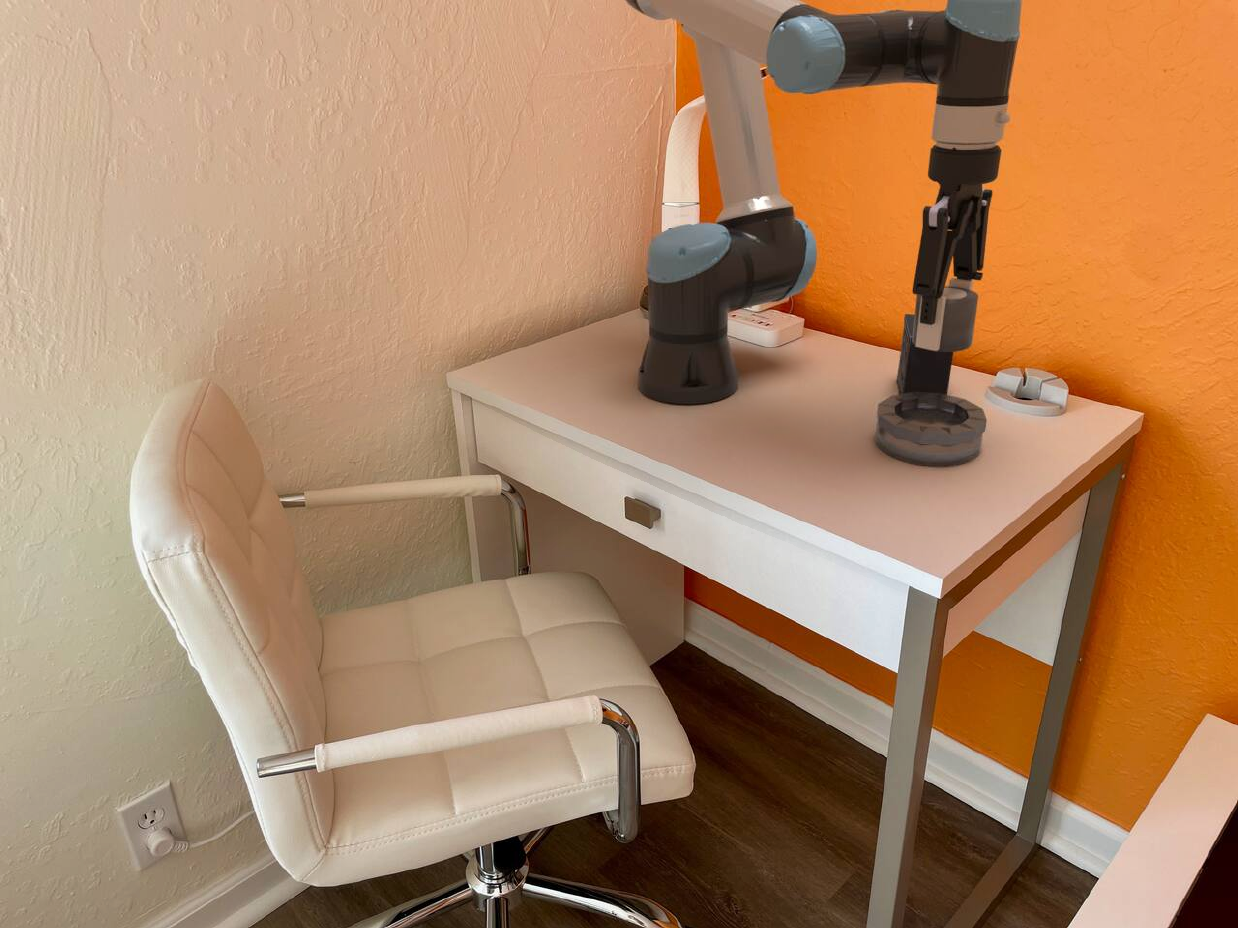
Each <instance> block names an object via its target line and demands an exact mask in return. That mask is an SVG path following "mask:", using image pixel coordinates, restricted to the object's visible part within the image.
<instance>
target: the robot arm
mask: <svg viewBox="0 0 1238 928" xmlns="http://www.w3.org/2000/svg"><path fill="white" fill-rule="evenodd" d="M624 1H625V2H626V3H627V4H628V5H629V6H630V7H632V9H634V10H636V11H637V12H639V13H640V14H643V15H644V16H646V17H649V18H651V19H653V20H657V21H665V20H669V19H671V20H674V21H676V22H678V23H679V24H680V25H681V30H682V33H683V34H685V35H686V36H688V37H689V38H690V39H692V40H693V41H694V45H695V51H696V57H697V62H698V63H697V64H698V68H699V73H700V79H701V86H702V90H703V96H704V102H705V107H706V114H707V119H708V126H709V131H710V135H711V142H712V148H713V154H714V161H715V165H716V172H717V178H718V182H719V183H718V184H719V189H720V194H721V200H722V206H723V207H722V209H721V210H722V211H721V212H720V214H719V215H718V217H717V218H716V220H715V223H713V222H697V223H695V224H691V223H687V224H686V223H685V224H682V225H678V226H674V227H671V228H668V229H666V230H663V231H661V232H659V234H657V235H655V236H654V237H653V239H652V240H651V242H650V243H649V246H648V248H647V249H648V250H647V264H646V269H645V270H646V275H647V296H648V297H647V301H648V340H647V343H646V347H645V350H644V353H643V356H642V359H641V363H640V366H639V370H638V374H637V375H638V376H637V377H638V379H637V380H638V381H637V382H638V389H639V391H640V392H641V393H642V394H644V396H646V397H648V398H650V399H653V400H656V401H659V402H663V403H669V404H673V405H674V404H677V405H700V404H706V403H712V402H717V401H720V400H723V399H725V398H728V397H729V396H732V395H733V394H734V393H735V392H736V391H737V390H738V387H739V370H738V367H737V364H736V363H735V358H734V354H733V351H732V347H731V345H730V341H729V338H728V330H729V329H728V324H729V323H728V320H729V313H730V312H734V311H738V310H742V309H743V310H744V309H746V308H751V307H755V306H760V305H763V304H767V303H775V302H781V301H783V300H785V299H786V298H790V297H793V296H795V295H797V294H799V293H800V292H801V291H803V290H804V289H805V288H807V285H808V284H809V282H810V279H812V277H813V276H814V273H815V269H816V266H817V259H818V247H817V242H816V238H815V235H814V233H813V231H812V229H810V228H808V226H809V225H808V224H807V223H806V222H805V221H804V220H801V219H799V218H797V217H796V216H795V210H794V205H793V203H791V202H790V201H788V200H787V199H786V198H784V197H783V196H782V194H781V189H780V184H779V183H780V182H779V178H778V177H779V176H778V171H777V164H776V158H775V151H774V146H773V139H772V133H771V126H770V122H769V114H768V109H767V101H766V96H765V89H764V83H763V77H762V71H761V70H762V69H761V65H760V64H762V65H763V66H766V68H767V69H766V70H767V72H768V76H769V77H771V78H772V80H773V82H774V85H775V86H776V88H778V89H779V90H780V91H783V92H784V93H788V94H800V93H801V94H805V95H815V94H818V93H821V92H831V91H837V90H846V89H853V88H854V89H855V88H863V87H873V86H882V85H883V86H884V85H892V84H893V85H894V84H902V83H903V84H908V83H909V84H930V85H937V86H936V87H937V88H936V89H937V90H936V100H935V106H934V113H933V114H934V115H933V123H932V130H931V131H932V132H931V139H932V140H933V141H934V142H935V143H936V144H934V145H932V147H931V148H930V150H929V151H930V153H929V160H928V161H929V162H928V168H927V169H928V171H927V177H928V178H929V180H930V181H932V182H935V183H938V185H939V189H938V194H937V196H936V198H935V199H936V201H935V203H934V205H933V206H930V205H925V206H924V207H923V210H922V229H921V233H920V234H921V235H920V241H919V242H920V243H919V245H918V246H919V247H918V254H917V259H916V266H915V273H914V278H913V283H912V294H913V295H916V296H917V295H921V302H920V310H919V319H918V327H917V336H916V345H915V347H920V348H924V349H929V350H934V351H938V350H939V348H940V340H941V332H942V325H943V317H944V309H945V301H946V296H942V295H943V291H944V287H945V286H946V283H947V279H948V275H949V273H950V269H951V264H953V265H952V266H953V270H952V271H953V277H952V278H950V279H949V280H948V286H951V287H960V288H965V289H969V290H972V291H973V286H974V280H975V281H980V282H981V281H982V279H983V275H984V273H983V272H981V271H982V270H983V269H984V264H985V255H986V254H985V253H986V243H987V234H988V232H987V231H988V225H989V223H988V221H989V214H990V213H989V210H990V208H991V207H990V206H991V202H992V198H993V189H986V188H983V185H986V184H989V183H993V182H994V181H996V180H997V178H998V176H999V169H1000V162H1001V157H1002V148H1001V146H1000V145H998V143H1000V142H1001V141H1002V140H1003V138H1004V132H1005V125H1006V124H1008V123H1009V122H1010V121H1011V115H1010V114H1009V113H1007V110H1008V105H1009V103H1008V102H1009V97H1010V94H1009V92H1010V86H1011V82H1012V74H1013V70H1014V65H1015V59H1016V53H1017V49H1018V43H1019V38H1020V37H1021V31H1020V24H1021V13H1022V12H1021V11H1022V4H1023V3H1022V1H1023V0H947V3H946V6H945V7H946V8H945V9H944V10H940V11H939V10H937V11H936V10H904V9H894V10H891V9H890V10H889V9H888V10H883V11H878V12H872V13H851V14H834V13H830V12H827V11H825V10H823V9H820V8H817V7H815V6H811V5H810V4H809V3H805V1H800V0H624ZM952 262H953V263H952ZM954 277H955V278H954Z"/></svg>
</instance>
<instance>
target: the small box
mask: <svg viewBox="0 0 1238 928" xmlns="http://www.w3.org/2000/svg"><path fill="white" fill-rule="evenodd" d="M903 317H904V320H903V330H902V331H903V332H902V340H901V345H900V347H901V348H900V355H899V361H898V368H897V369H898V370H897V375H896V385H897V391H898V395H899V394H904V393H910V392H926V393H942V394H946V395H948V391H949V390H948V389H949V383H950V378H951V371H952V365H953V356H954V352H937V351H930V350H926V349H922V348H920V347H915V345H914V344H913V342H912V337H913V327H914V317H915V314H911V313H910V314H909V313H905V314H904V316H903Z"/></svg>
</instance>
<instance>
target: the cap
mask: <svg viewBox="0 0 1238 928" xmlns="http://www.w3.org/2000/svg"><path fill="white" fill-rule="evenodd" d="M942 296H946V301H945V309H944V317H943V325H942V332H941V340H940V348H939V350H938V351H937V352H953V353H955V352H961V351H964V350H965V351H966V350H967V349H969V348H971V347H972V345H973V338H974V333H975V332H974V330H975V323H976V315H977V308H978V301H979V294H978V293H977V292H976V291H973V289H972V290H969V289H965V288H960V287H951V286H949V285H948V286H947V285H945V287H944V291H943V295H942ZM915 297H916V299H915V309H914V315H915V317H914V327H913V337H912V342H913V344H914V345H916V336H917V327H918V319H919V310H920V302H921V295H916V296H915ZM922 349H924V348H922ZM926 350H929V349H926ZM930 351H934V350H930Z"/></svg>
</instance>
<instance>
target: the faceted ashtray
mask: <svg viewBox="0 0 1238 928" xmlns="http://www.w3.org/2000/svg"><path fill="white" fill-rule="evenodd" d="M876 413H877V414H876V417H877V421H876V422H877V423H876V432H875V444H876V446H877V448H878V449H879V450H880V451H881V452H883V453H884V454H885V455H887V456H889V457H891V458H892V459H893V458H894V459H896V460H898V461H901V462H904V463H909V464H913V465H917V466H922V467H937V468H939V467H941V468H942V467H953V466H954V467H955V466H958V465H963V464H966V463H969V462H971V461H973V460H974V459H976V458H977V457H978V456H979V454H980V452H981V445H982V440H983V434H984V433H985V431H986V428H987V418H986V414H985V411H984V409H983V408H982V407H980V406H978V405H976V404H974V403H973V402H971V401H969V400H968V399H966V398H961V397H957V396H953V395H950V394H947V395H946V394H942V393H926V392H910V393H904V394H899V393H898V394H894V395H893V394H892V395H890V396H888V397H886V398H885V399H884V400H882V401H881V402H879V403H878V404H877V412H876Z"/></svg>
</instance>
